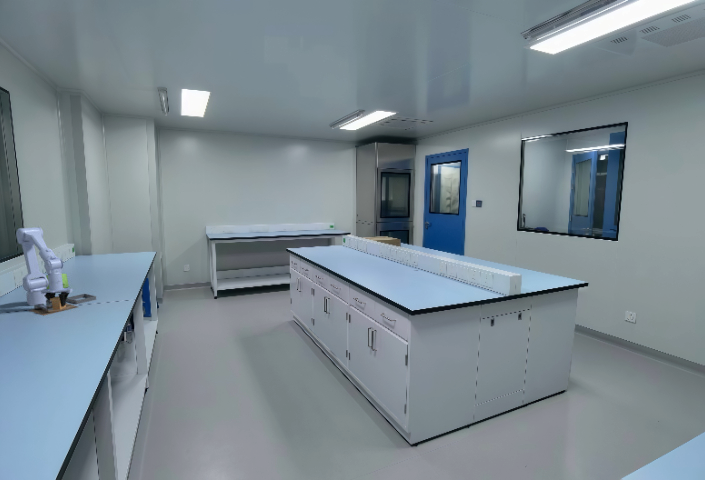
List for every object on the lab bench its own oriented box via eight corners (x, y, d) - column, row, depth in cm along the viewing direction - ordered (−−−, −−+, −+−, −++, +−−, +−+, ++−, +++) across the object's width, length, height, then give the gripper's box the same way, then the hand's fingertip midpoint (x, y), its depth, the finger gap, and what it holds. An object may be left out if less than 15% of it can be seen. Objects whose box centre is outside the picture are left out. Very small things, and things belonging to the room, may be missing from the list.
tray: (66, 302, 211) (65, 297, 210) (85, 298, 219) (85, 293, 219) (76, 305, 205) (76, 300, 204) (96, 301, 213) (95, 296, 213)
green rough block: (36, 290, 240) (34, 276, 239) (52, 286, 250) (50, 272, 248) (56, 291, 235) (53, 277, 233) (72, 287, 244) (69, 273, 243)
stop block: (51, 309, 195) (49, 298, 194) (57, 307, 199) (55, 296, 199) (60, 309, 195) (59, 298, 195) (65, 306, 200) (64, 296, 199)
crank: (33, 309, 196) (31, 297, 195) (42, 307, 199) (40, 295, 198) (47, 313, 188) (46, 301, 187) (56, 311, 191) (55, 299, 190)
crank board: (27, 312, 194) (27, 310, 194) (63, 304, 208) (62, 302, 208) (43, 317, 186) (43, 315, 186) (79, 308, 200) (79, 306, 200)
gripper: (35, 283, 191) (38, 308, 192) (65, 282, 192) (67, 307, 194) (45, 280, 198) (47, 304, 199) (73, 279, 199) (76, 303, 201)
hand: (58, 305), depth 197 cm, fingers closed on stop block, 4 cm apart
